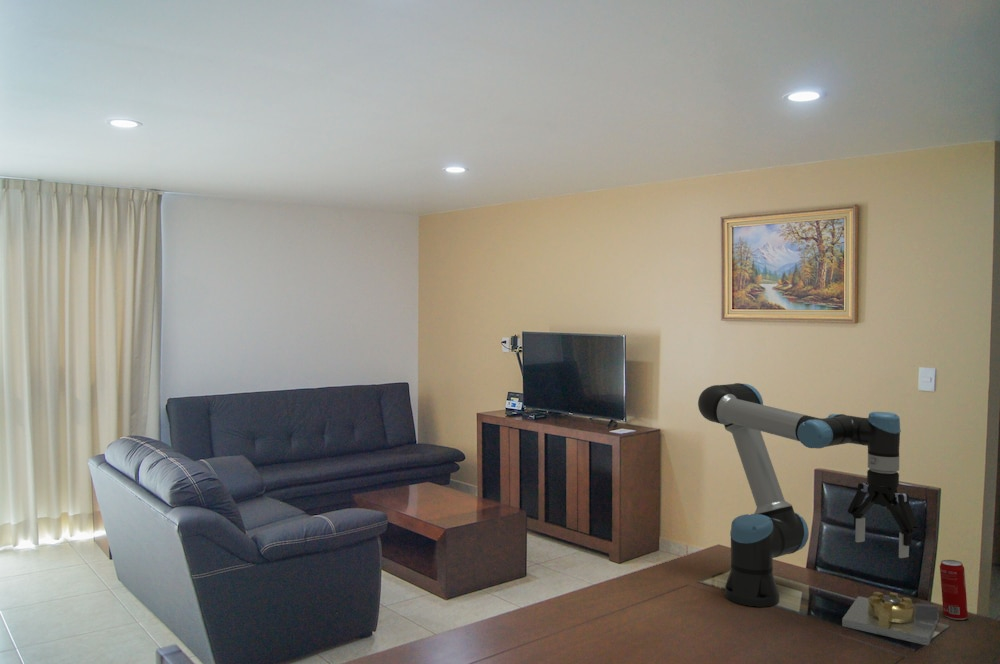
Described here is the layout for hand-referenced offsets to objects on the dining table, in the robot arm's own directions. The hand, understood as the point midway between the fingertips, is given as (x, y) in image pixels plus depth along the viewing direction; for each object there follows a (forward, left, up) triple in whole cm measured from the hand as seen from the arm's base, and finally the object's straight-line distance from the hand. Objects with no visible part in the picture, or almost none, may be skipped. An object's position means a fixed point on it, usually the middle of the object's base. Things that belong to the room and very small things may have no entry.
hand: (881, 549), depth 196 cm
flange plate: (+2, +2, -20) cm, 20 cm away
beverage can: (+15, +17, -20) cm, 31 cm away
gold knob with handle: (+2, -1, -18) cm, 18 cm away
